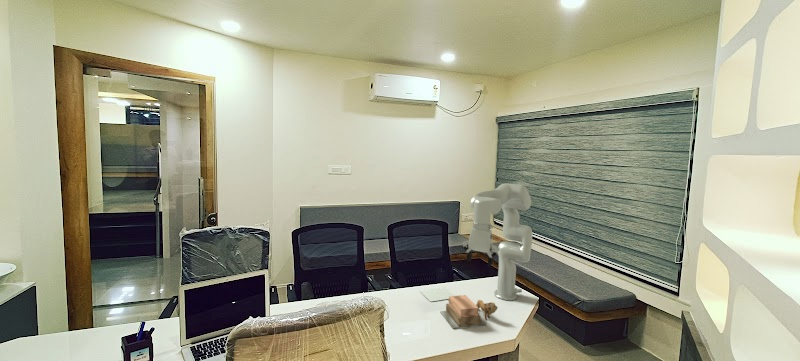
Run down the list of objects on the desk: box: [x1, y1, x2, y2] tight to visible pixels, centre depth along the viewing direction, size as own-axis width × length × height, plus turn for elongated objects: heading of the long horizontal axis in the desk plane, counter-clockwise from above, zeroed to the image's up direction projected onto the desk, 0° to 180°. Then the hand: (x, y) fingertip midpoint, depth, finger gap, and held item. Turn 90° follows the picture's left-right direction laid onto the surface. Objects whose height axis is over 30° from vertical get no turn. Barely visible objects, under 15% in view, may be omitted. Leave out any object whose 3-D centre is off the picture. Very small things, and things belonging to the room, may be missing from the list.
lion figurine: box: [475, 299, 498, 321], centre depth 163 cm, size 15×5×9 cm, turn 33°
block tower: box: [439, 294, 487, 330], centre depth 159 cm, size 17×16×9 cm
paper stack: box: [419, 287, 456, 302], centre depth 179 cm, size 23×25×1 cm
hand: (479, 263), depth 148 cm, fingers open, 9 cm apart
